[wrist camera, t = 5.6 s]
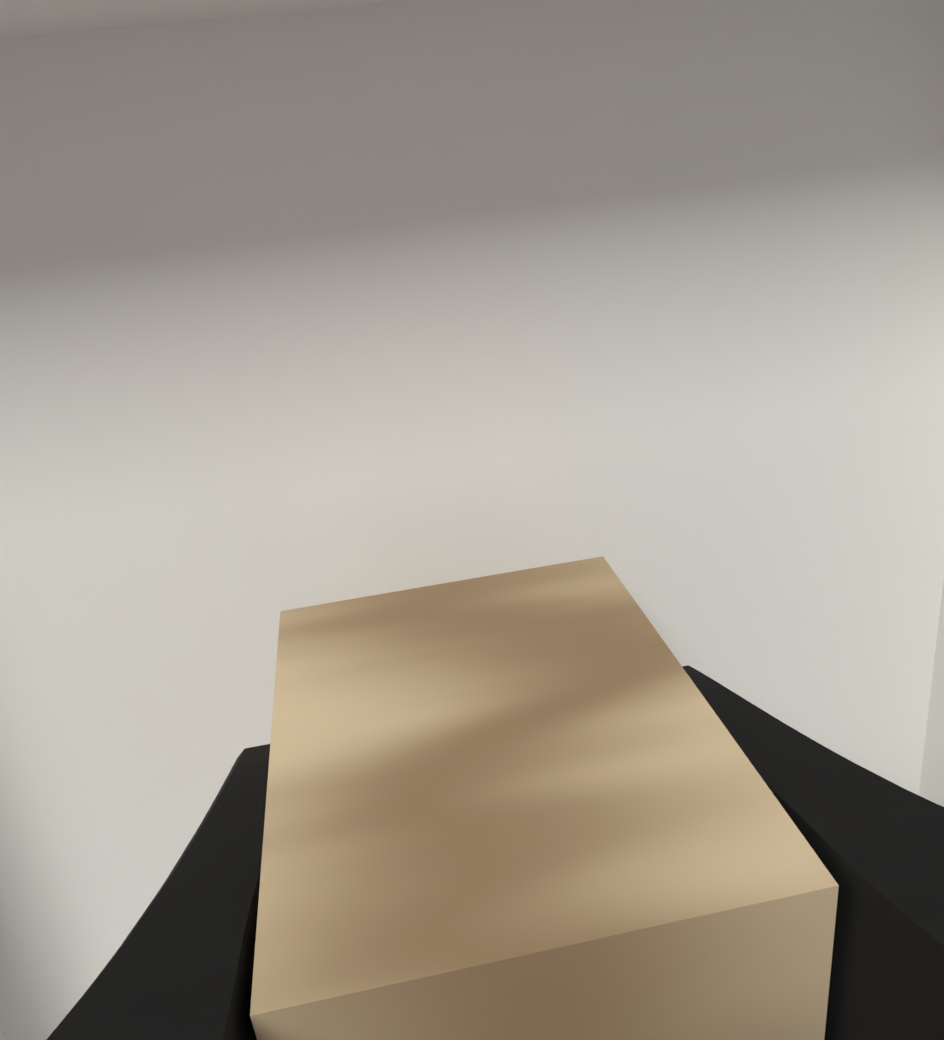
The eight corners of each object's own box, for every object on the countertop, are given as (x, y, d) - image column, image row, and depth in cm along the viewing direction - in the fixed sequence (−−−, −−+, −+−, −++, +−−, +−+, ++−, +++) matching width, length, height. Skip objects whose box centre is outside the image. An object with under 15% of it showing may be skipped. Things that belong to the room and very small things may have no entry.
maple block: (603, 556, 12) (838, 885, 7) (614, 804, 14) (807, 1223, 8) (280, 610, 12) (249, 1015, 6) (335, 861, 13) (350, 1345, 8)
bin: (1060, -137, 12) (1448, -301, 8) (924, 923, 20) (1085, 1121, 16) (-534, -4, 10) (-1153, -134, 6) (13, 1133, 17) (-82, 1428, 13)
